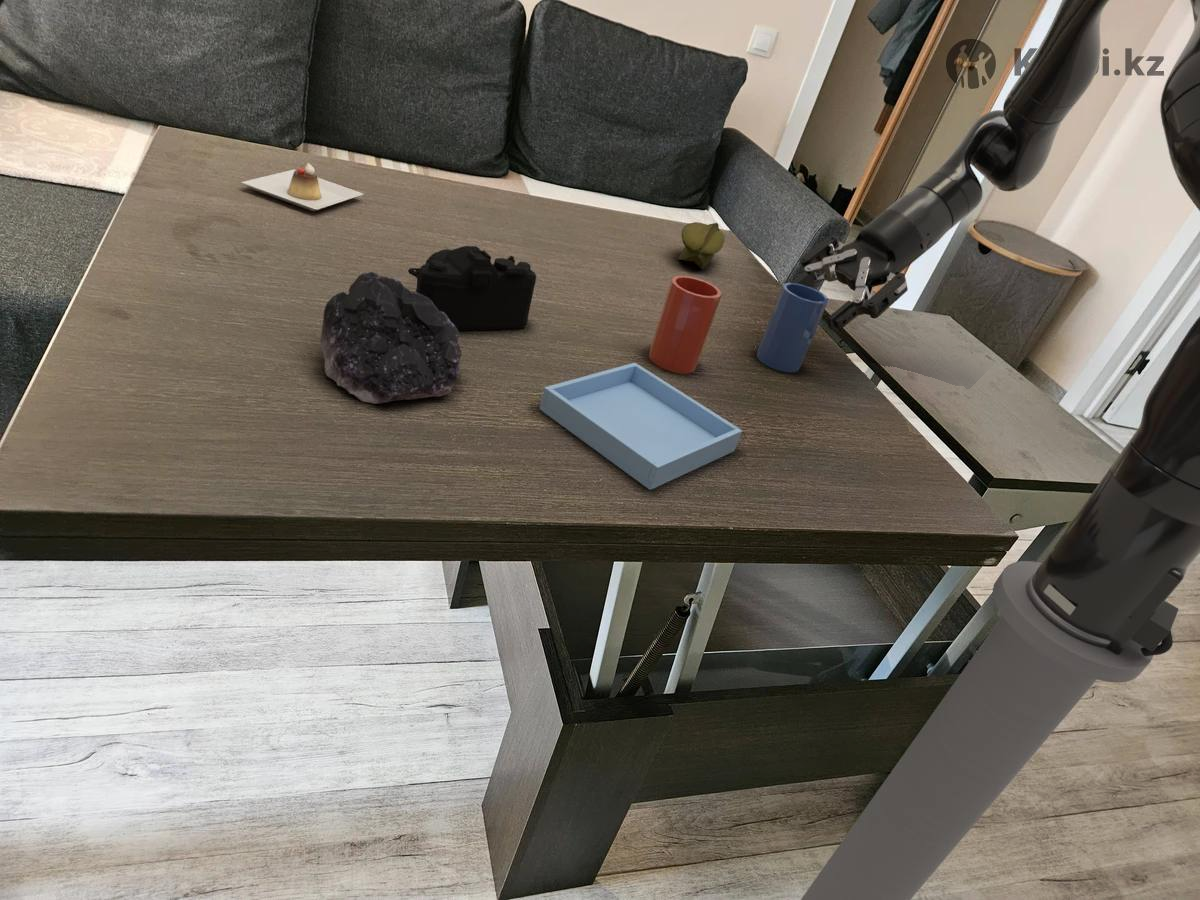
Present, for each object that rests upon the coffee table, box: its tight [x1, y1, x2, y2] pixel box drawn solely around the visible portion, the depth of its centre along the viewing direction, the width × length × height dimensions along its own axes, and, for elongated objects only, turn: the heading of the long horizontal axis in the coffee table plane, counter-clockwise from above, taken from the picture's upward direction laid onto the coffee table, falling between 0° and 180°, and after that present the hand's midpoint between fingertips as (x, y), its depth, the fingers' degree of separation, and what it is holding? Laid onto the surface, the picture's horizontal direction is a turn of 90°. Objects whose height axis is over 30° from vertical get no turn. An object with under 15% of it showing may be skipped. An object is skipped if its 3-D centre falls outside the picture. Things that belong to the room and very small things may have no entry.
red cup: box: [648, 275, 723, 375], centre depth 95 cm, size 6×6×10 cm
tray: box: [539, 362, 743, 491], centre depth 81 cm, size 15×14×3 cm
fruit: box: [678, 221, 725, 270], centre depth 132 cm, size 11×12×7 cm
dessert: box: [241, 162, 365, 212], centre depth 113 cm, size 12×12×5 cm
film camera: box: [407, 245, 537, 332], centre depth 92 cm, size 15×10×9 cm, turn 121°
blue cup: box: [756, 282, 830, 374], centre depth 103 cm, size 6×6×10 cm
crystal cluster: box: [320, 271, 462, 405], centre depth 76 cm, size 13×14×10 cm
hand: (808, 310), depth 103 cm, fingers open, 8 cm apart
